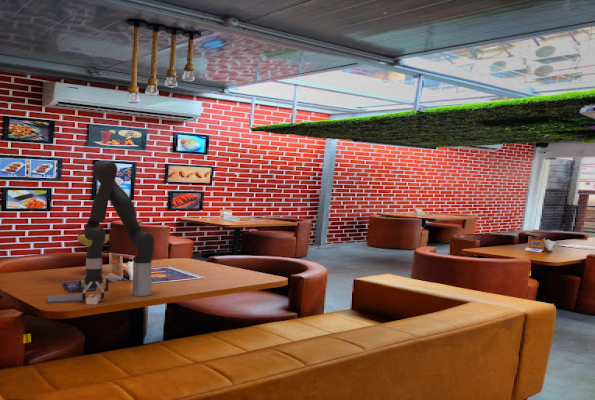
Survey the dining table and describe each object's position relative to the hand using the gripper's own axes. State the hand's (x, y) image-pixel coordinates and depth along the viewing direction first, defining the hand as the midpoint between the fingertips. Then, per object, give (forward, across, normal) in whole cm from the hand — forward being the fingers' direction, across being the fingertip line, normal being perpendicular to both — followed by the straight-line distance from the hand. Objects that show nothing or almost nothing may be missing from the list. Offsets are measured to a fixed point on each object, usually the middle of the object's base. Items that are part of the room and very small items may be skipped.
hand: (93, 300), depth 261 cm
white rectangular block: (+1, 0, 0) cm, 1 cm away
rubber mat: (+1, +12, -8) cm, 15 cm away
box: (+2, +6, -33) cm, 34 cm away
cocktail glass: (+1, -4, -70) cm, 70 cm away
